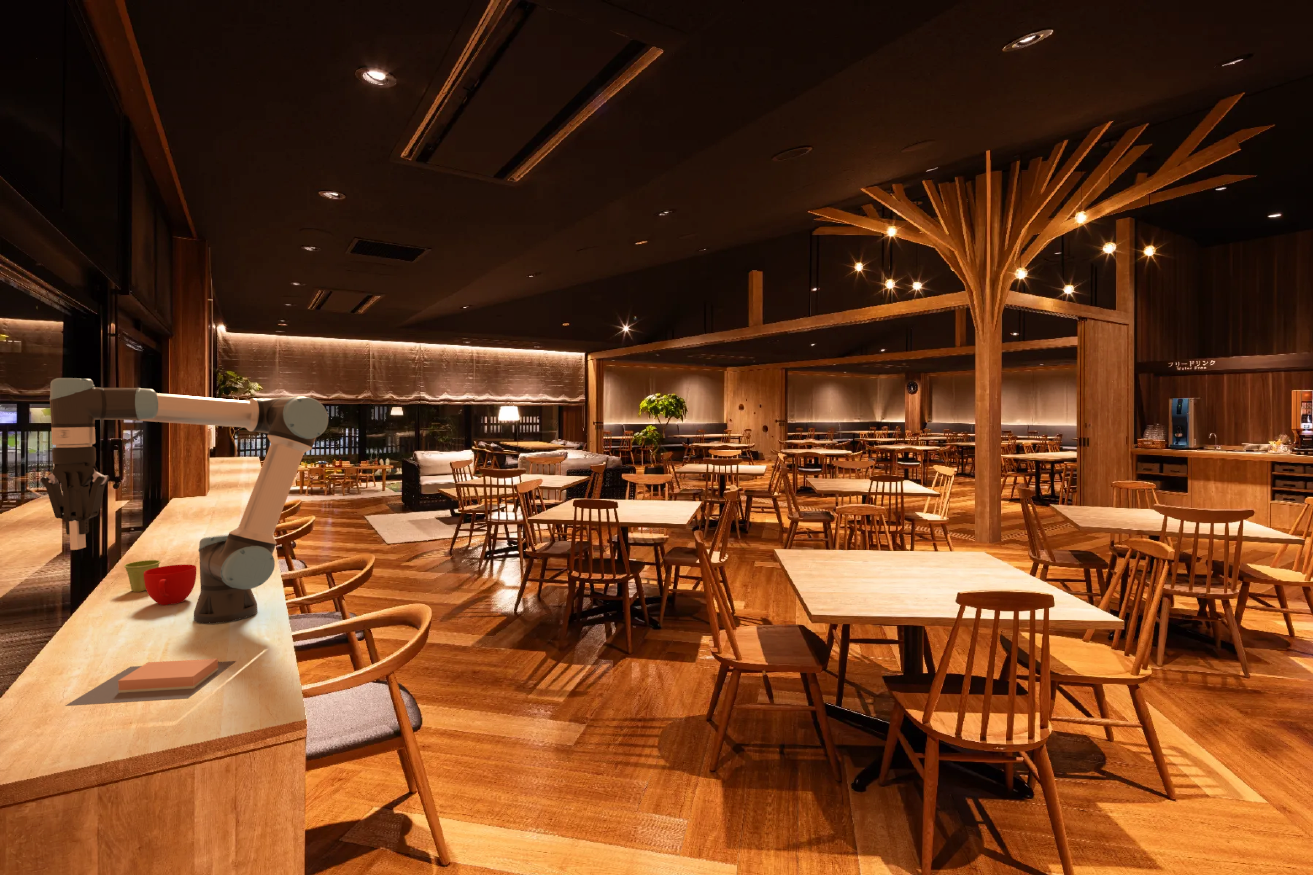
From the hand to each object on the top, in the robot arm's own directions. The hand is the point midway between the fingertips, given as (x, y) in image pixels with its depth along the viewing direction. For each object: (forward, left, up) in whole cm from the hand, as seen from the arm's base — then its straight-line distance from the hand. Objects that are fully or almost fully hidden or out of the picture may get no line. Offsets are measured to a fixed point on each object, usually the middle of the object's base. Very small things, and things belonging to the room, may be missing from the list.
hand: (78, 548), depth 154 cm
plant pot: (-12, -70, -27) cm, 76 cm away
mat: (-13, +27, -26) cm, 40 cm away
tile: (-9, +25, -25) cm, 36 cm away
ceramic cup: (-18, -45, -27) cm, 55 cm away
